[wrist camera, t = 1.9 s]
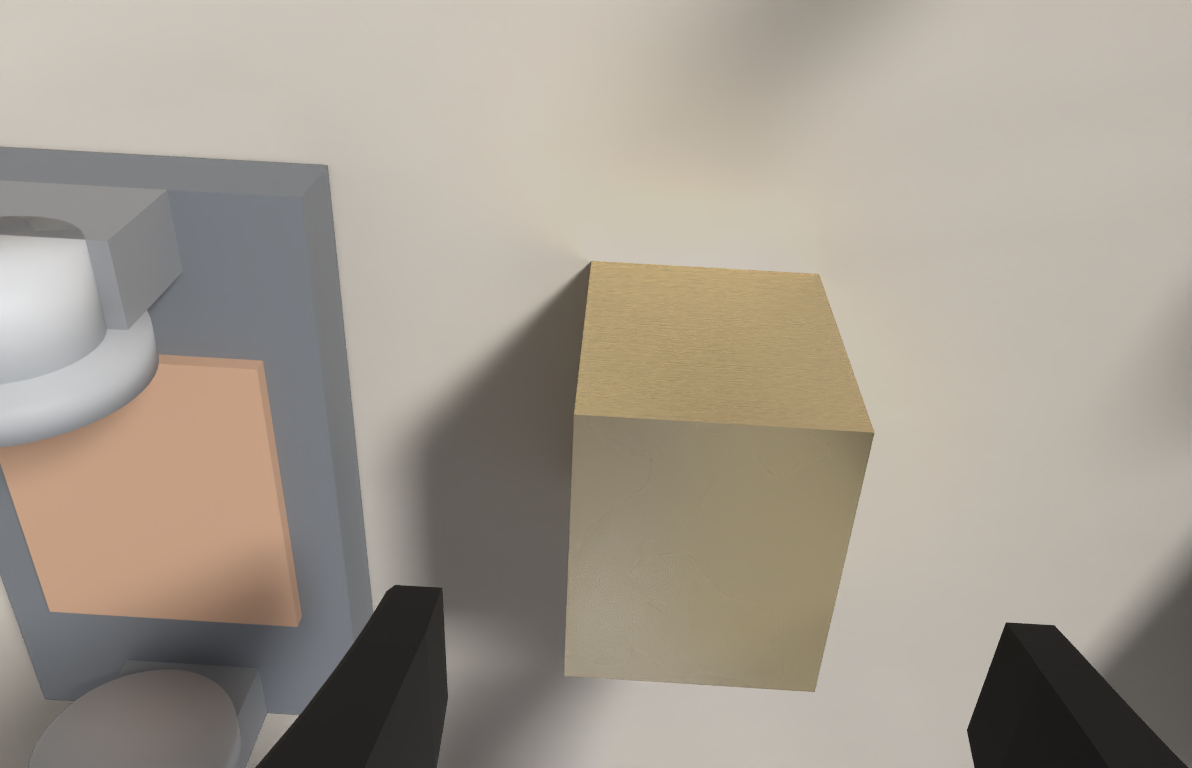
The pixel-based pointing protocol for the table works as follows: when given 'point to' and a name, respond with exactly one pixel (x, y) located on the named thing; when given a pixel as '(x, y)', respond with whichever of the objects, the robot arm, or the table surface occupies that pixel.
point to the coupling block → (710, 477)
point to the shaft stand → (174, 450)
